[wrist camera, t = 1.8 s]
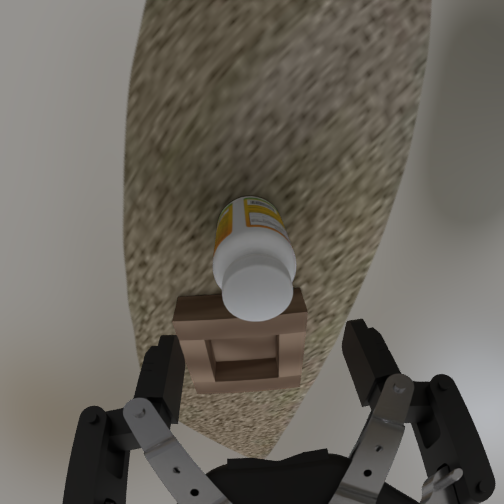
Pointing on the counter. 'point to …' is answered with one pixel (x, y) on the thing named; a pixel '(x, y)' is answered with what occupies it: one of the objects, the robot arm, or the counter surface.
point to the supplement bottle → (253, 260)
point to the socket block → (240, 346)
